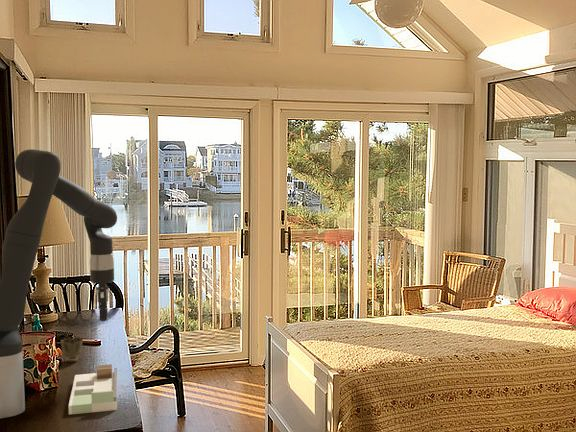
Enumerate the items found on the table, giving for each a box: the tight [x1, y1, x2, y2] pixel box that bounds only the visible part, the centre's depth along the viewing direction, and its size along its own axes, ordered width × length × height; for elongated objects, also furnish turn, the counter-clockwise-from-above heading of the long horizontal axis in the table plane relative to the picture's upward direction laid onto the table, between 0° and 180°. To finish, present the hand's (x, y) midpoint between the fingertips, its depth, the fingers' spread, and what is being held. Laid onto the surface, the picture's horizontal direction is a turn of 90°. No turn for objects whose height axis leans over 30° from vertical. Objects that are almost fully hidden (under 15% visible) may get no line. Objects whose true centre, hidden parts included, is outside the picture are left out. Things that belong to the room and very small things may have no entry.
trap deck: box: [68, 367, 118, 415], centre depth 195 cm, size 28×13×6 cm, turn 15°
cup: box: [60, 336, 84, 363], centre depth 230 cm, size 8×7×8 cm
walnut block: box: [96, 364, 113, 379], centre depth 205 cm, size 4×4×3 cm
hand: (103, 318), depth 212 cm, fingers open, 4 cm apart
